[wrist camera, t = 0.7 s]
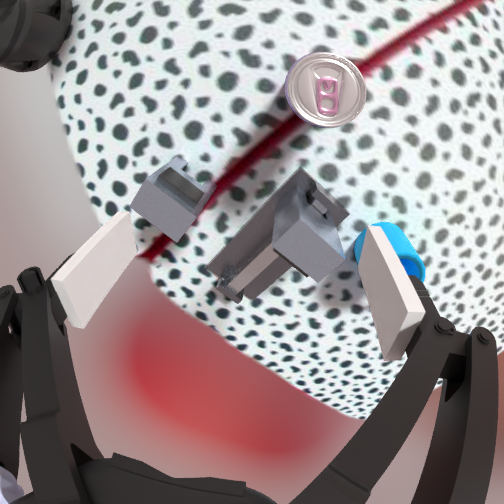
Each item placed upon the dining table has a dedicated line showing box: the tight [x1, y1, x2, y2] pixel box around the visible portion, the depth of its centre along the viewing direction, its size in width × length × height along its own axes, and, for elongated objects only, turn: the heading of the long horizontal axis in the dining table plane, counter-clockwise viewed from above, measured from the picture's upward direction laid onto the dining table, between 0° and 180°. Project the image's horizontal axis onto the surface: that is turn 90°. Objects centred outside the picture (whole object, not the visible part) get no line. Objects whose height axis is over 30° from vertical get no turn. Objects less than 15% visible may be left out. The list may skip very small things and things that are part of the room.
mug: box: [354, 222, 425, 282], centre depth 37 cm, size 12×8×8 cm
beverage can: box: [285, 52, 366, 128], centre depth 24 cm, size 6×6×15 cm
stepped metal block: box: [129, 156, 217, 242], centre depth 33 cm, size 7×5×10 cm
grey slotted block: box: [207, 167, 350, 304], centre depth 36 cm, size 9×20×11 cm, turn 140°
